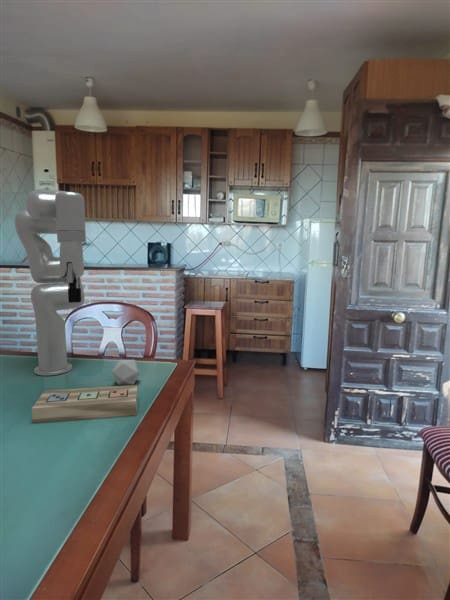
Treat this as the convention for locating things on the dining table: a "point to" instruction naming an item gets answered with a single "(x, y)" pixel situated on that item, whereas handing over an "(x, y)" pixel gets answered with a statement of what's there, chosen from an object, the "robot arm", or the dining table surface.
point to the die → (126, 372)
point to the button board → (85, 404)
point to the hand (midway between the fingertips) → (75, 301)
